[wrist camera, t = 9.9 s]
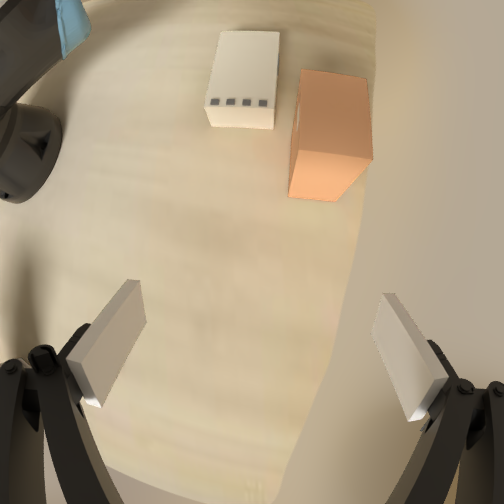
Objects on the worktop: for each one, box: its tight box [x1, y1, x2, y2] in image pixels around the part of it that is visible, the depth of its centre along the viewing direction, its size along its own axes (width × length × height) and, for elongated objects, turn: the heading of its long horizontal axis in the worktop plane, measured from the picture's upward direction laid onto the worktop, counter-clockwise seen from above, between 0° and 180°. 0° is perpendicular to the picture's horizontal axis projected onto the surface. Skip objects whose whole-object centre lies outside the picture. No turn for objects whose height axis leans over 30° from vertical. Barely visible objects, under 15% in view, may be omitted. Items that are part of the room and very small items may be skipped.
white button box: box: [204, 31, 280, 129], centre depth 29 cm, size 7×12×5 cm, turn 175°
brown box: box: [288, 69, 373, 202], centre depth 24 cm, size 5×7×12 cm
